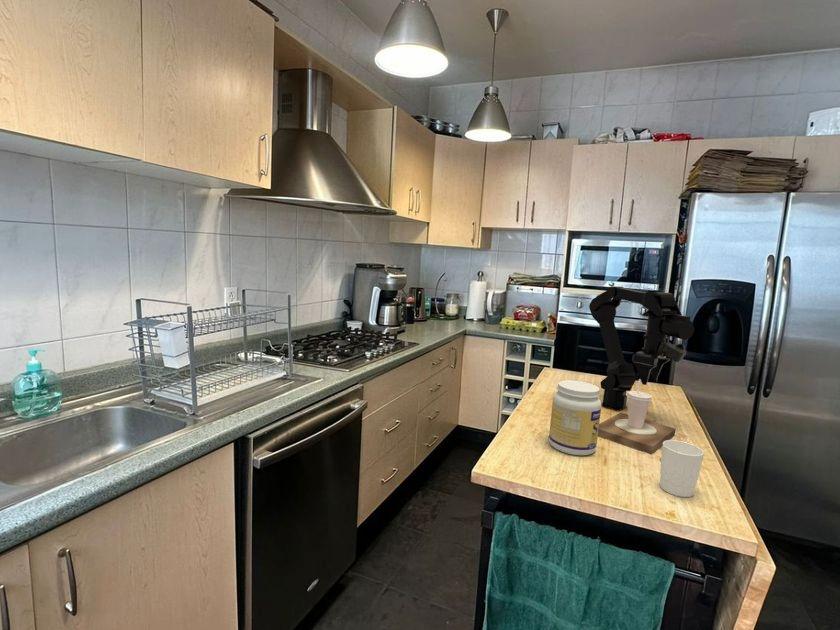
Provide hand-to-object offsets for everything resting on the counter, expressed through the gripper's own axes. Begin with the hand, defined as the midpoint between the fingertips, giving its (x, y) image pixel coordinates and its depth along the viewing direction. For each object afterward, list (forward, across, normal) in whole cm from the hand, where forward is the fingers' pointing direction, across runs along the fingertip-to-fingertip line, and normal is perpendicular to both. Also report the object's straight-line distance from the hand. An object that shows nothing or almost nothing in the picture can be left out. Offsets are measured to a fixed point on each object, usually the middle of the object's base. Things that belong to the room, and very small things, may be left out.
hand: (649, 382), depth 141 cm
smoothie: (+10, -14, -2) cm, 18 cm away
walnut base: (+13, -14, -2) cm, 19 cm away
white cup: (+13, -39, -20) cm, 46 cm away
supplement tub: (+13, -37, +6) cm, 40 cm away
